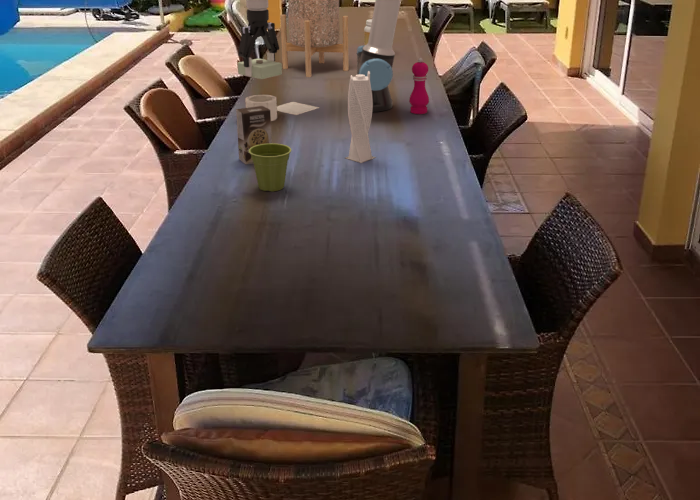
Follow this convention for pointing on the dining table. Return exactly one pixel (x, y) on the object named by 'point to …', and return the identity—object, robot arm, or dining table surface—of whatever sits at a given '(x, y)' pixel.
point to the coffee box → (252, 130)
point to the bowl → (263, 103)
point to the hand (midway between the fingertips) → (260, 73)
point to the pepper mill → (419, 88)
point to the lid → (262, 68)
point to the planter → (314, 31)
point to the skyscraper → (360, 117)
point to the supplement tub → (367, 31)
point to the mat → (295, 108)
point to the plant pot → (270, 165)
